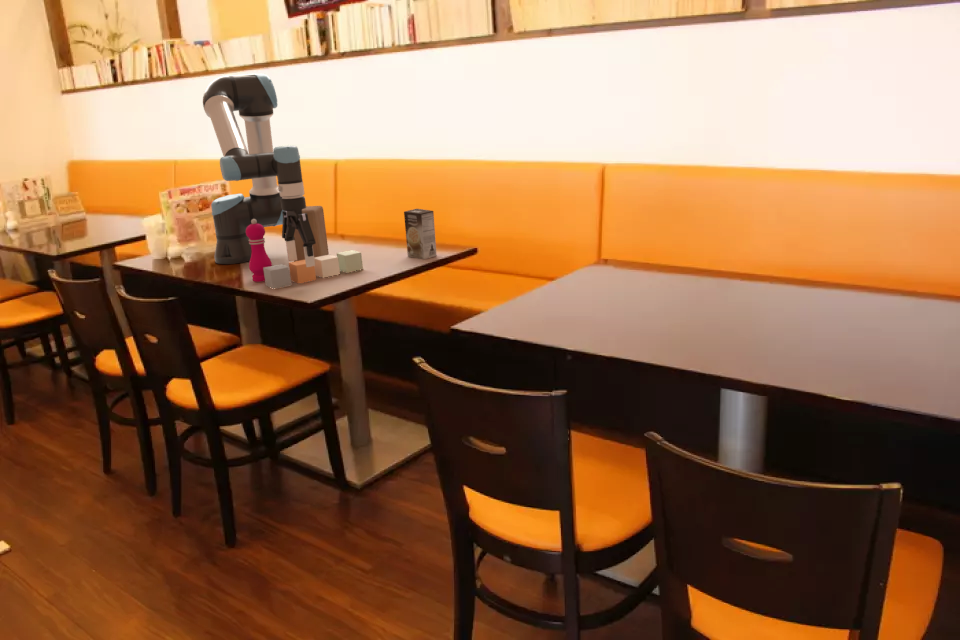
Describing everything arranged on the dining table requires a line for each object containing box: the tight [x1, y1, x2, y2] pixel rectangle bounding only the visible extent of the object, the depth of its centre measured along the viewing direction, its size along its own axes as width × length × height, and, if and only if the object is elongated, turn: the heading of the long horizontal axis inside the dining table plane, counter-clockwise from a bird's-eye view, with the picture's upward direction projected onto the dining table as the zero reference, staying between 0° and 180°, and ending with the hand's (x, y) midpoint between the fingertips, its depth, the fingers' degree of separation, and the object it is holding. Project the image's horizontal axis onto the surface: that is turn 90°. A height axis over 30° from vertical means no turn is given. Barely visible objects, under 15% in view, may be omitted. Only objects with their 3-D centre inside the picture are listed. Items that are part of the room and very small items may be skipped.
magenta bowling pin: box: [246, 219, 273, 283], centre depth 248 cm, size 7×7×20 cm
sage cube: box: [336, 249, 364, 274], centre depth 255 cm, size 6×6×6 cm
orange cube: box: [288, 260, 317, 284], centre depth 246 cm, size 6×6×6 cm
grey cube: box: [263, 263, 292, 290], centre depth 241 cm, size 6×6×6 cm
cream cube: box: [314, 254, 341, 279], centre depth 251 cm, size 6×6×6 cm
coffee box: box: [403, 208, 437, 260], centre depth 267 cm, size 9×6×16 cm
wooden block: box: [293, 205, 330, 262], centre depth 263 cm, size 10×10×20 cm
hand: (301, 263), depth 245 cm, fingers open, 13 cm apart
